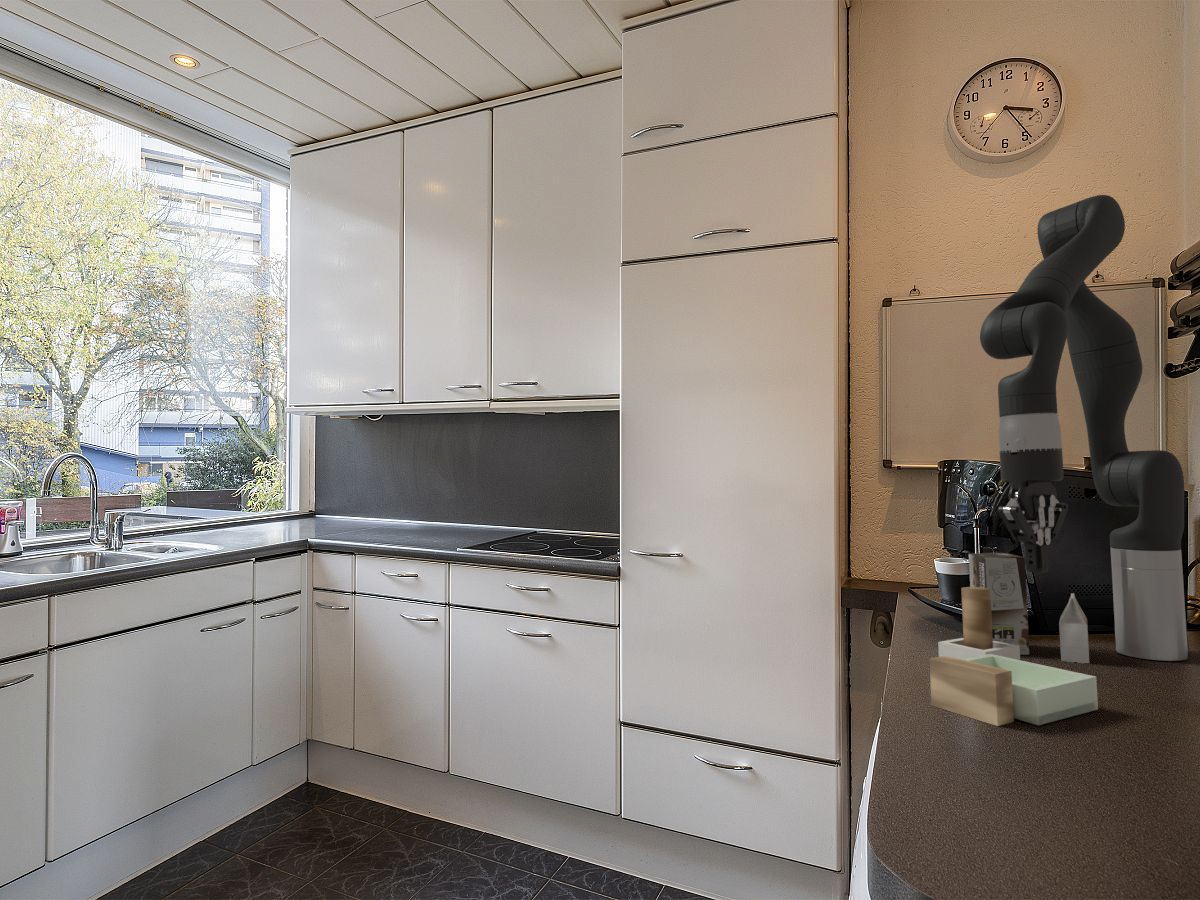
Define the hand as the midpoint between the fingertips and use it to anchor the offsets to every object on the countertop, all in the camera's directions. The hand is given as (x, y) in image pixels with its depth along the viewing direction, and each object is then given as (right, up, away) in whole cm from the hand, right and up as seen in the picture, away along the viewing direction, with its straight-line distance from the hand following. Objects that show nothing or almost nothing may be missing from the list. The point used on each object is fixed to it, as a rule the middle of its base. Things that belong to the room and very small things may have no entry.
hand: (1037, 571), depth 98 cm
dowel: (-2, -17, +11) cm, 20 cm away
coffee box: (+8, -17, +23) cm, 30 cm away
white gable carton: (+16, -17, +16) cm, 28 cm away
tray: (-7, -16, -7) cm, 19 cm away
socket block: (-2, -17, +11) cm, 20 cm away
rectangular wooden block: (-15, -16, -11) cm, 24 cm away
